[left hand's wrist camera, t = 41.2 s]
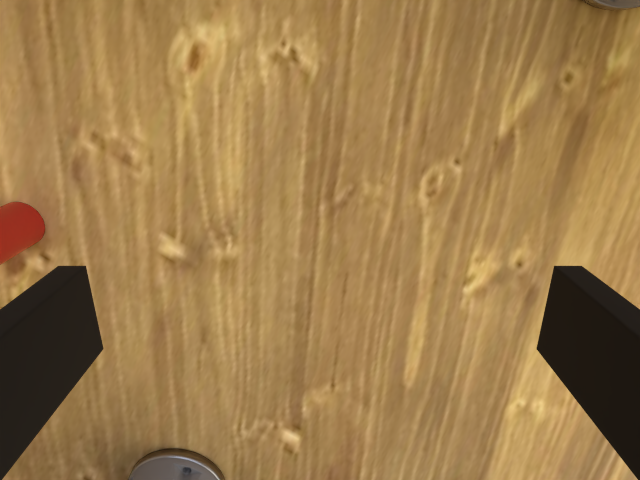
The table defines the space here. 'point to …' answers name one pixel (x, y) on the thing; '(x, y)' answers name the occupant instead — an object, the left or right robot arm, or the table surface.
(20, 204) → the can
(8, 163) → the table surface
